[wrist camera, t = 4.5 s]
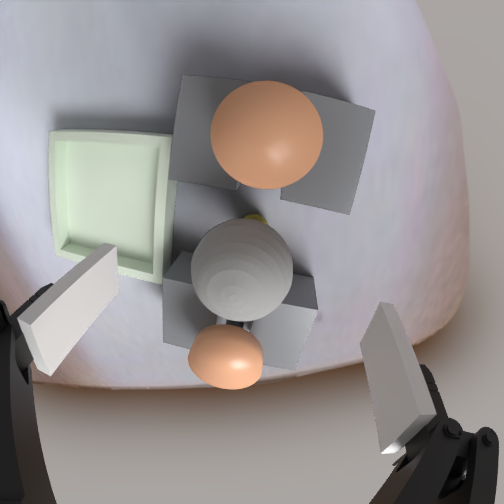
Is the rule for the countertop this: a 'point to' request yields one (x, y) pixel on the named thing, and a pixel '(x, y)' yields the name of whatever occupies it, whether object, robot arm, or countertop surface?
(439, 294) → the countertop surface
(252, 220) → the light bulb
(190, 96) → the socket housing
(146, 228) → the tray
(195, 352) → the plunger
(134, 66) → the countertop surface
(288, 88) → the orange mushroom knob
